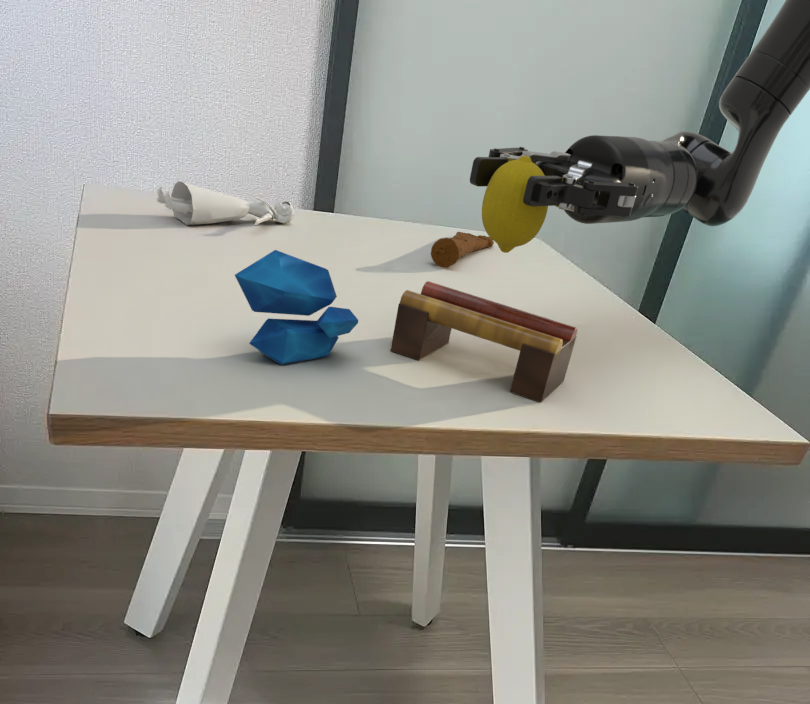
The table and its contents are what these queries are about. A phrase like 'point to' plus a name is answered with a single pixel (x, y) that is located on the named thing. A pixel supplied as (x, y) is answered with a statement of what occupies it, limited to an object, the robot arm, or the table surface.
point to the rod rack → (486, 334)
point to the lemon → (511, 205)
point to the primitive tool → (457, 247)
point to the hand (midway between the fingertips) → (501, 181)
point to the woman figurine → (219, 206)
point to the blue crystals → (293, 308)
